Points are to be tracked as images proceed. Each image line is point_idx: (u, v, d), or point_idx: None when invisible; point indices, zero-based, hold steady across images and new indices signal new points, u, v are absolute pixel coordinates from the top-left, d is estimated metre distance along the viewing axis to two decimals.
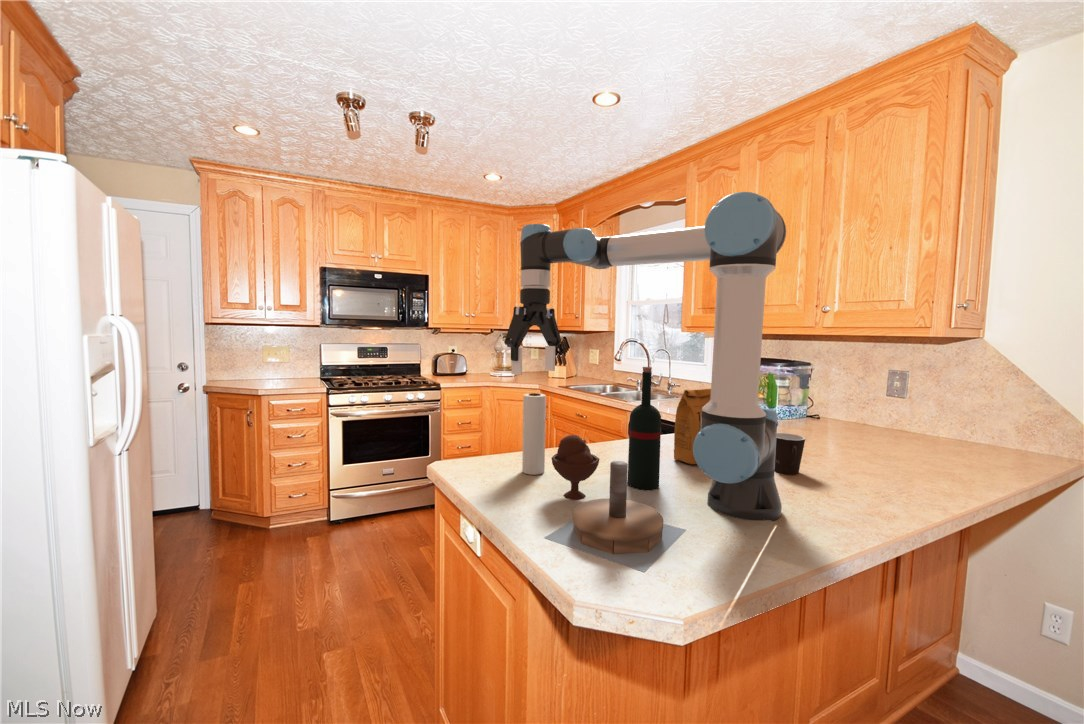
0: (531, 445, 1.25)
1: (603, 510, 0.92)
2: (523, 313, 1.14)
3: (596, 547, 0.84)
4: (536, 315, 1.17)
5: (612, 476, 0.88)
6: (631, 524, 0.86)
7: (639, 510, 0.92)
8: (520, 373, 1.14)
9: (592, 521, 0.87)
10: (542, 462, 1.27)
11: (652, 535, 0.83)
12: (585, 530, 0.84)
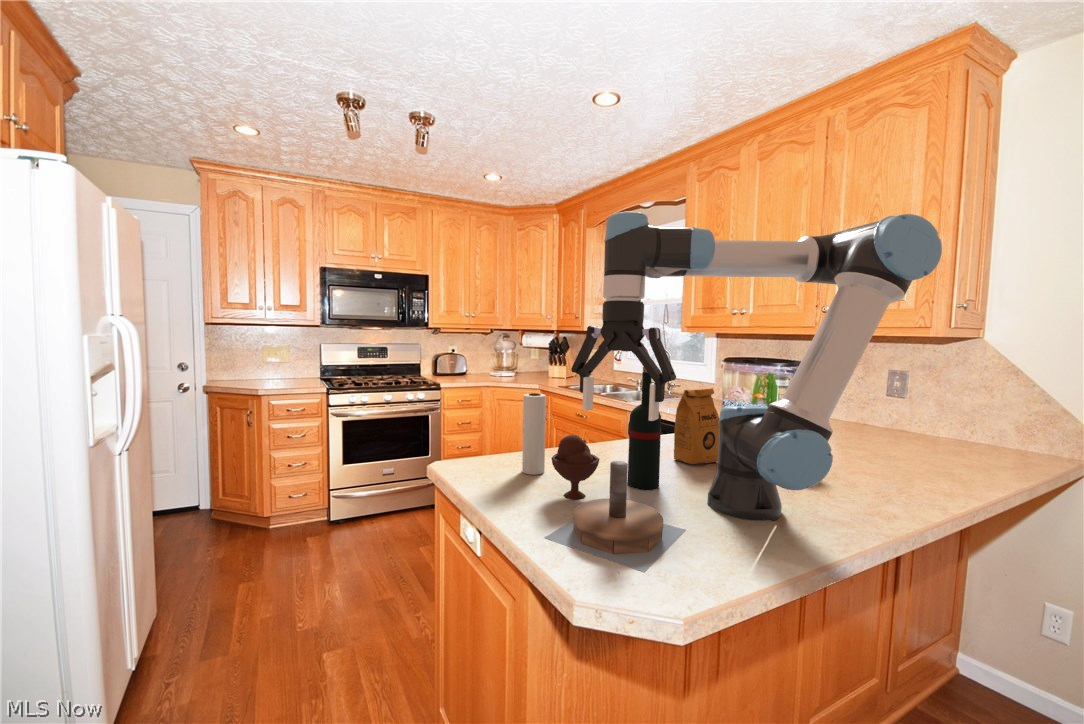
0: (531, 445, 1.25)
1: (603, 510, 0.92)
2: (590, 334, 0.90)
3: (596, 547, 0.84)
4: (608, 337, 0.87)
5: (612, 476, 0.88)
6: (631, 524, 0.86)
7: (639, 510, 0.92)
8: (583, 409, 0.91)
9: (592, 521, 0.87)
10: (542, 462, 1.27)
11: (652, 535, 0.83)
12: (585, 530, 0.84)
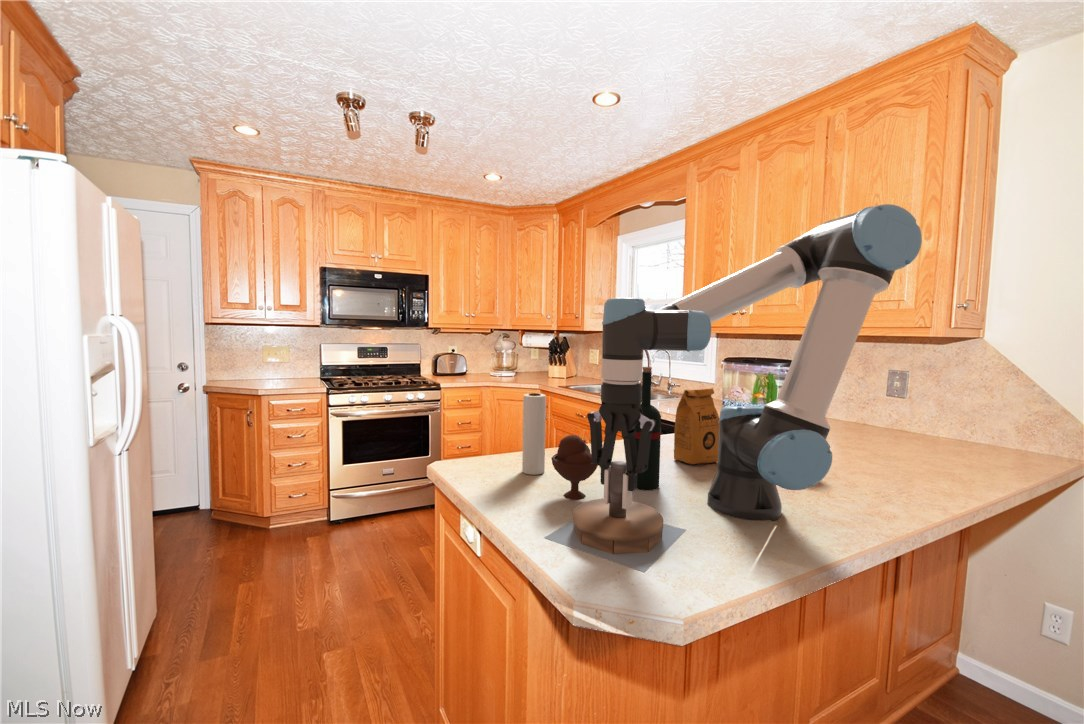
0: (531, 445, 1.25)
1: (603, 510, 0.92)
2: (592, 420, 0.90)
3: (596, 547, 0.84)
4: (608, 419, 0.88)
5: (612, 476, 0.88)
6: (631, 524, 0.86)
7: (639, 510, 0.92)
8: (604, 502, 0.90)
9: (592, 521, 0.87)
10: (542, 462, 1.27)
11: (652, 535, 0.83)
12: (585, 530, 0.84)
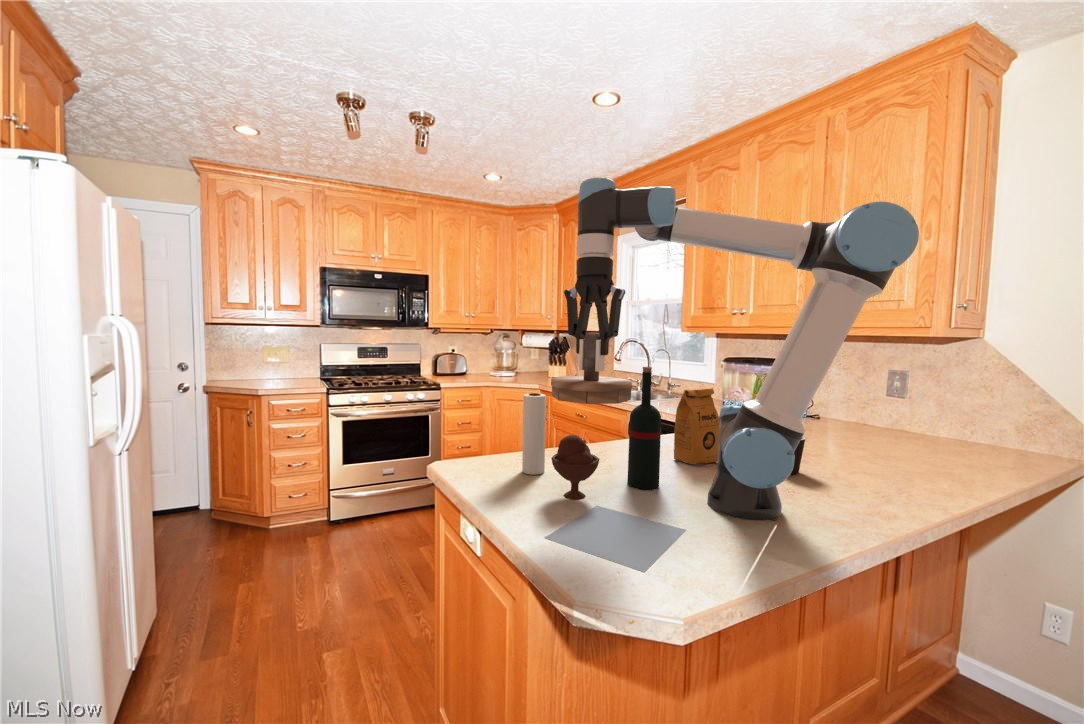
0: (531, 445, 1.25)
1: None
2: (569, 296, 1.00)
3: (572, 400, 0.94)
4: (583, 291, 0.98)
5: (586, 343, 0.98)
6: (602, 382, 0.96)
7: (611, 379, 1.02)
8: (580, 368, 1.00)
9: (568, 381, 0.97)
10: (542, 462, 1.27)
11: (621, 389, 0.93)
12: (562, 386, 0.94)
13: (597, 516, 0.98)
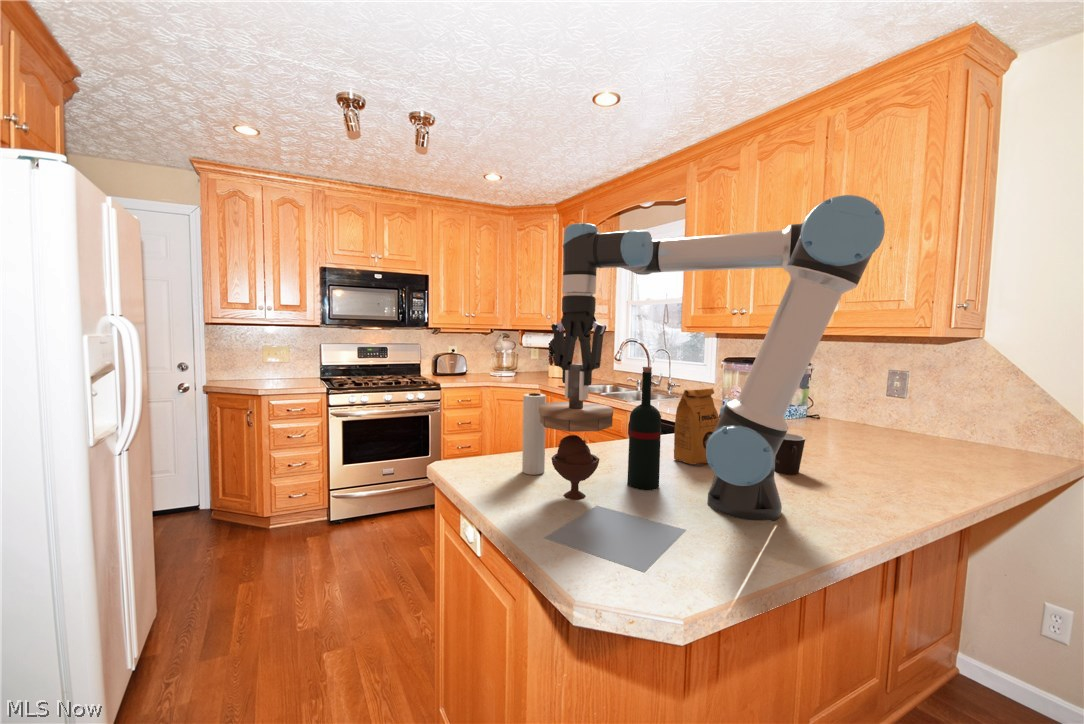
0: (531, 445, 1.25)
1: (565, 406, 1.10)
2: (556, 329, 1.09)
3: (556, 428, 1.02)
4: (567, 326, 1.06)
5: (571, 374, 1.07)
6: (585, 411, 1.04)
7: (595, 406, 1.10)
8: (565, 397, 1.08)
9: (553, 409, 1.05)
10: (542, 462, 1.27)
11: (601, 417, 1.01)
12: (547, 415, 1.03)
13: (597, 516, 0.98)
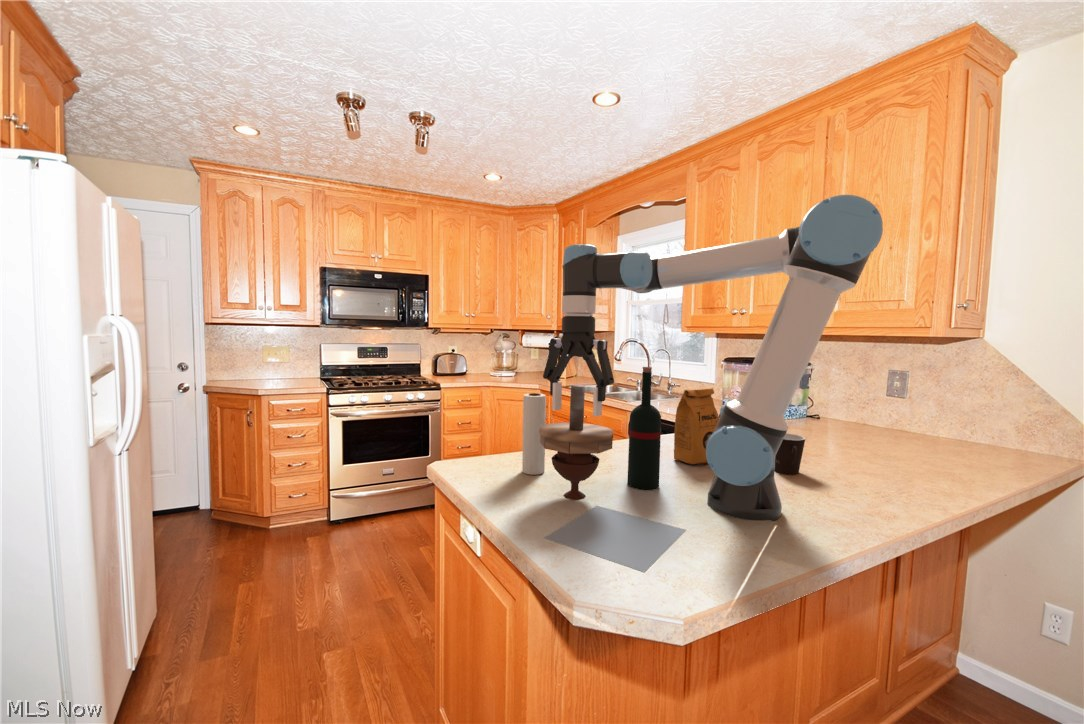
0: (531, 445, 1.25)
1: (565, 427, 1.10)
2: (553, 345, 1.09)
3: (556, 449, 1.02)
4: (567, 346, 1.06)
5: (572, 396, 1.07)
6: (585, 433, 1.04)
7: (595, 428, 1.11)
8: (553, 409, 1.10)
9: (554, 431, 1.05)
10: (542, 462, 1.27)
11: (602, 440, 1.02)
12: (547, 436, 1.03)
13: (597, 516, 0.98)
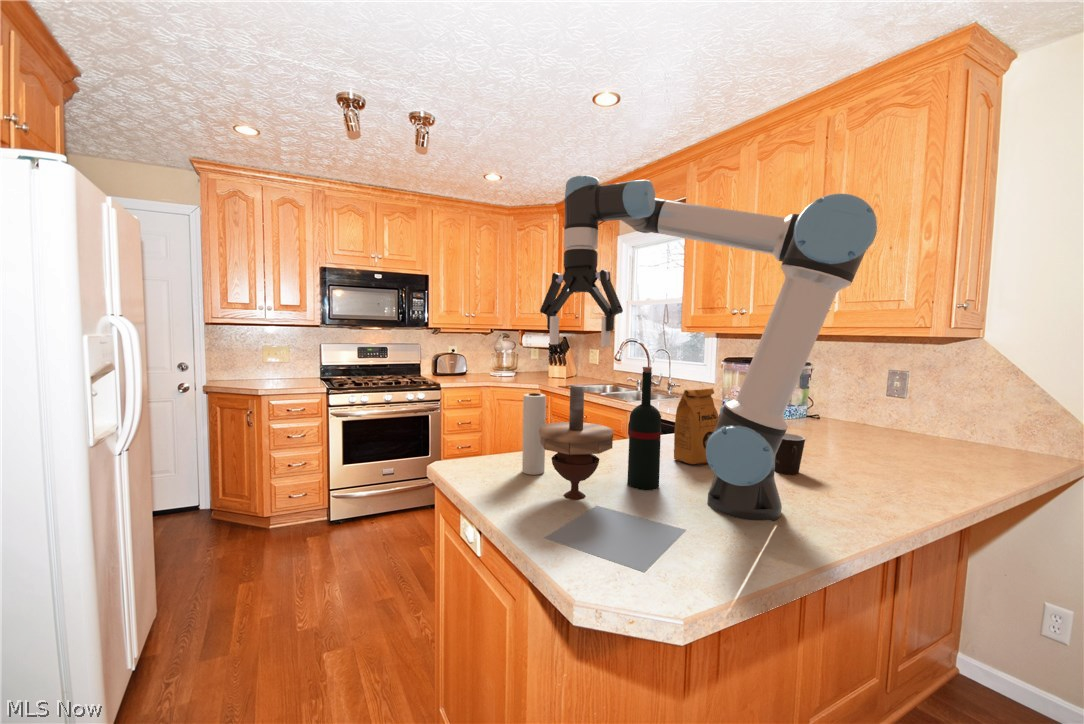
0: (531, 445, 1.25)
1: (565, 427, 1.10)
2: (555, 280, 1.08)
3: (556, 450, 1.02)
4: (568, 280, 1.05)
5: (571, 396, 1.07)
6: (585, 433, 1.04)
7: (595, 427, 1.11)
8: (550, 343, 1.10)
9: (554, 431, 1.05)
10: (542, 462, 1.27)
11: (602, 440, 1.02)
12: (547, 437, 1.03)
13: (597, 516, 0.98)
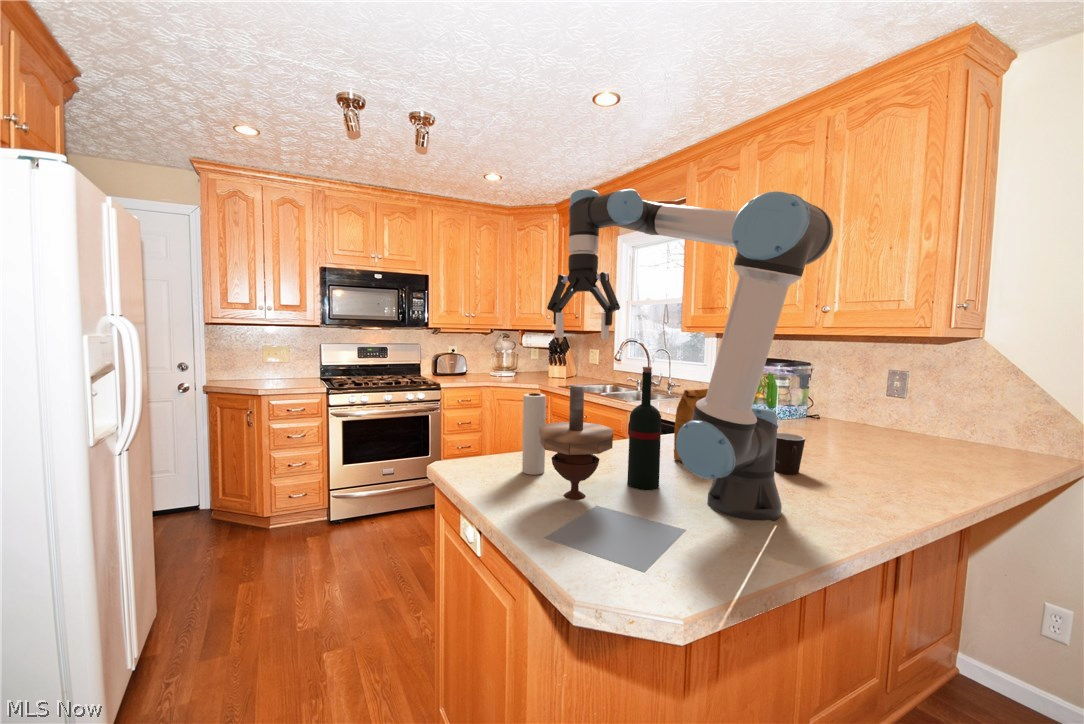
0: (531, 445, 1.25)
1: (565, 427, 1.10)
2: (560, 280, 1.23)
3: (556, 450, 1.02)
4: (572, 281, 1.20)
5: (571, 396, 1.07)
6: (585, 433, 1.04)
7: (595, 427, 1.11)
8: (556, 336, 1.24)
9: (554, 432, 1.05)
10: (542, 462, 1.27)
11: (602, 440, 1.02)
12: (547, 437, 1.03)
13: (597, 516, 0.98)
